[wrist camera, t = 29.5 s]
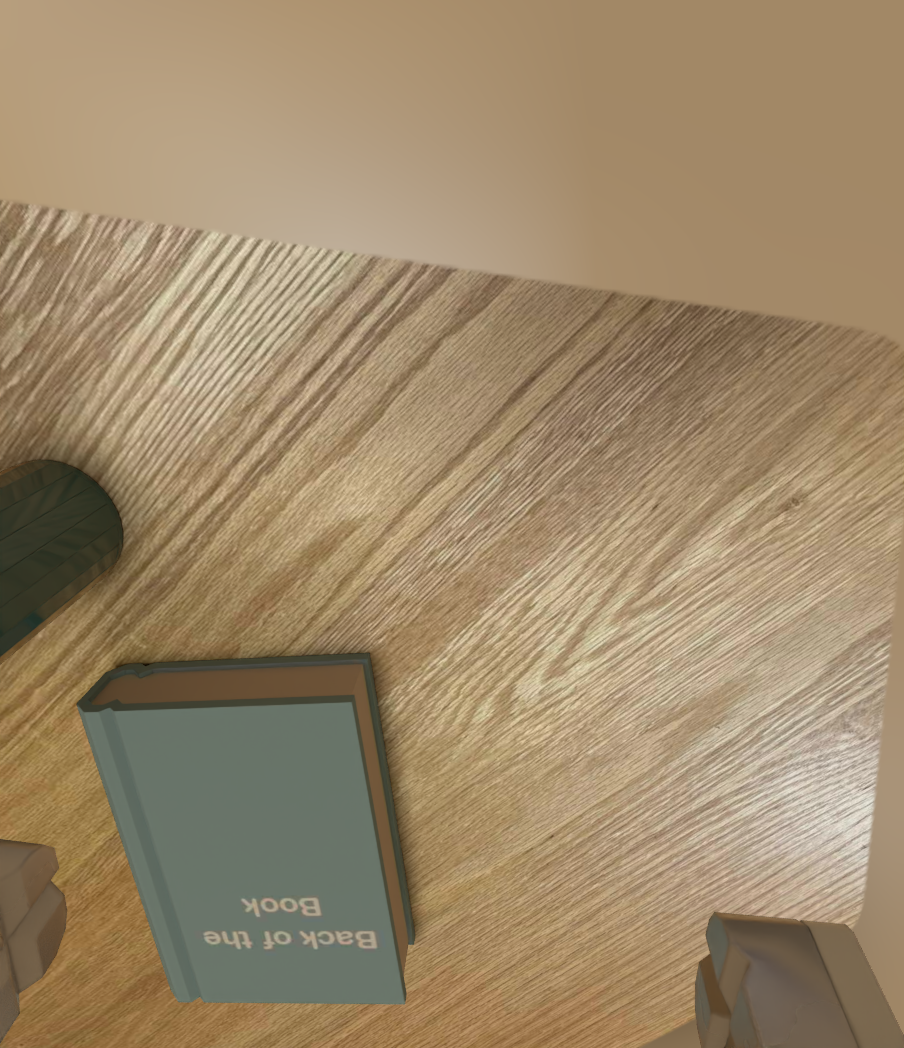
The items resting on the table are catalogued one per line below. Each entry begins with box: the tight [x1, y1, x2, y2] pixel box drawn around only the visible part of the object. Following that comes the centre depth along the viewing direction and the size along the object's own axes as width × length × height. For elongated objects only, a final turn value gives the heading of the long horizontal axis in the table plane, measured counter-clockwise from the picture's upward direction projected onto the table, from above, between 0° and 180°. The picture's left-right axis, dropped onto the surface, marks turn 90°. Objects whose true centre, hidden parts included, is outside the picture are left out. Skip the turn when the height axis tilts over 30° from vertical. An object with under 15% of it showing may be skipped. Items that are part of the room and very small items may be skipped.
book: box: [77, 653, 415, 1004], centre depth 47 cm, size 23×16×5 cm
